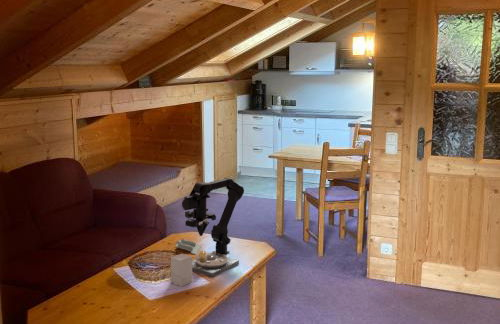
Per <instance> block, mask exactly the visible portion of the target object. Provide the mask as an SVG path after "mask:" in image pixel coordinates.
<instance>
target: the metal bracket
mask: <svg viewBox="0 0 500 324" xmlns="http://www.w3.org/2000/svg"><path fill="white" fill-rule="evenodd" d="M201 247H202V244H199V243H196V242H194V241H191V240H186V239H184V238H181V239H179V240H176V245H175V246H174V248H175V250H178V249H183V250H185V251H188V252H190V254H192V255H196V256H197V255H198V254H199V253H198V252H199V250H200V248H201Z"/></svg>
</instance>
